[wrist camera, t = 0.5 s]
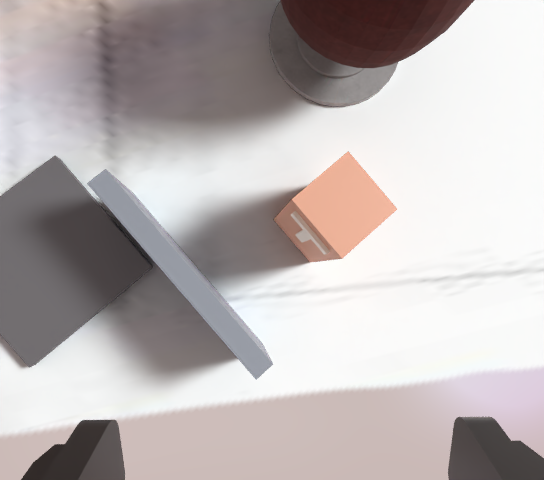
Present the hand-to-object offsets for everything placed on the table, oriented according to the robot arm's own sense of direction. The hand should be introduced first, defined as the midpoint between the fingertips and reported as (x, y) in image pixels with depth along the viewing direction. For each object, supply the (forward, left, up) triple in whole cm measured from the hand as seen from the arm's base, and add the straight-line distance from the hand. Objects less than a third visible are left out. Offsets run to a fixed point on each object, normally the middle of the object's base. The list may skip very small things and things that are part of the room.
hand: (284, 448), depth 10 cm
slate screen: (-6, -1, -26) cm, 26 cm away
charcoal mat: (-14, -9, -26) cm, 31 cm away
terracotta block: (-2, +10, -26) cm, 28 cm away
